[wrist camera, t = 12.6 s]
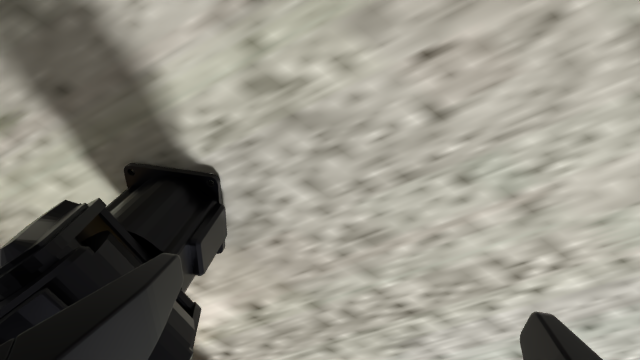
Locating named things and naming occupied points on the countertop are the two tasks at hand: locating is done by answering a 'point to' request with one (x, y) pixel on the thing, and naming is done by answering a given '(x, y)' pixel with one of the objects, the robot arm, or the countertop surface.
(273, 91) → the countertop surface
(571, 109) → the countertop surface
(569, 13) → the countertop surface
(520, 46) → the countertop surface
